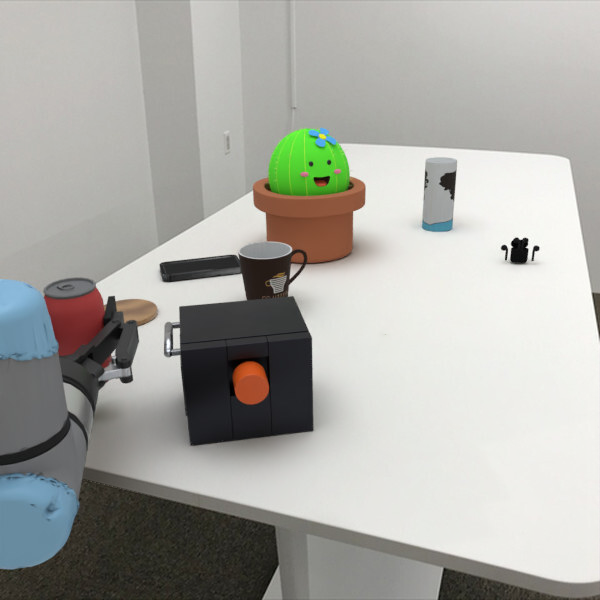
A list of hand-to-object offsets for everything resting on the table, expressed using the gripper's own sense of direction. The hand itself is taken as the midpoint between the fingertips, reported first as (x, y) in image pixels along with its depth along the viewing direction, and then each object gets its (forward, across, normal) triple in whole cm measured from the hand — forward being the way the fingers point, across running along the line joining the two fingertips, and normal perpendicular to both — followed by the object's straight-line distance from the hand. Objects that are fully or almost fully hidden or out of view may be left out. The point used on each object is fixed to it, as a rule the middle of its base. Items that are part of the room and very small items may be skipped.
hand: (82, 309), depth 78 cm
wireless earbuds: (+32, +75, -12) cm, 82 cm away
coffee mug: (+22, +27, -12) cm, 37 cm away
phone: (+42, +15, -12) cm, 46 cm away
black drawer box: (-8, +19, -12) cm, 23 cm away
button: (-15, +19, -5) cm, 25 cm away
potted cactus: (+49, +38, -12) cm, 63 cm away
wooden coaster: (+24, +2, -12) cm, 27 cm away
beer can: (-5, 0, -7) cm, 9 cm away
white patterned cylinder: (+57, +68, -12) cm, 90 cm away
